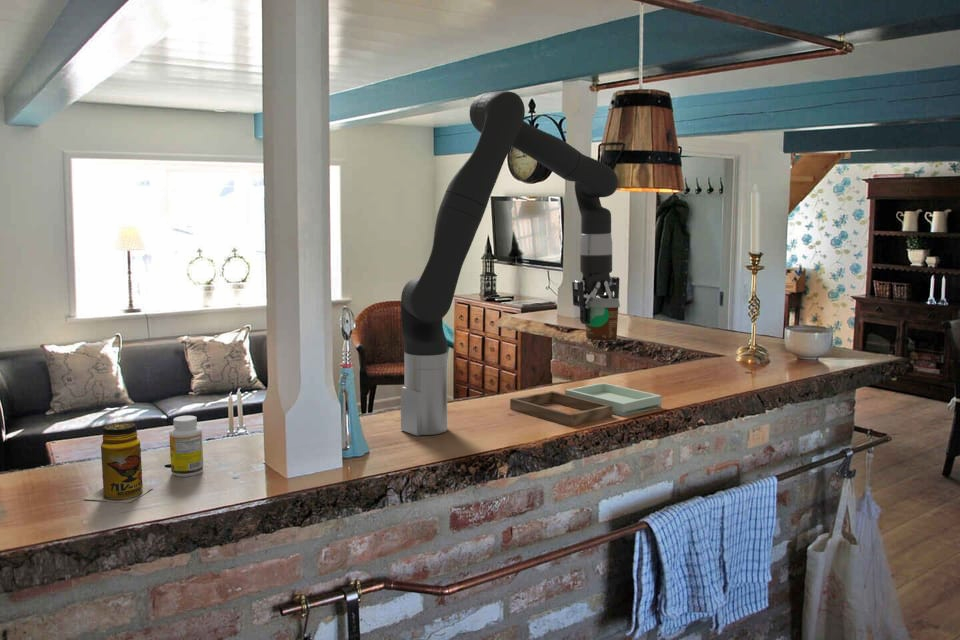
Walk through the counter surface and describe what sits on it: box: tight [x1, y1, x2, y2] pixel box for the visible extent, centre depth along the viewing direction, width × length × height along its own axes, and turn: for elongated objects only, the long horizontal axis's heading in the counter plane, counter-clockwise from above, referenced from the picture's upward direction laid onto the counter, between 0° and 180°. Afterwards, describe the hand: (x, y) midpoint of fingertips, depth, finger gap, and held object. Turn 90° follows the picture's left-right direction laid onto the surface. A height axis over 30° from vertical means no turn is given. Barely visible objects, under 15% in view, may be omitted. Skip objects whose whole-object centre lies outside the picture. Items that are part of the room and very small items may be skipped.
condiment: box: [83, 421, 155, 504], centre depth 139 cm, size 7×8×12 cm
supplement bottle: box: [169, 415, 204, 478], centre depth 150 cm, size 6×6×10 cm
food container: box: [584, 294, 621, 341], centre depth 198 cm, size 12×6×10 cm, turn 20°
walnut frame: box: [509, 390, 613, 427], centre depth 196 cm, size 14×20×2 cm
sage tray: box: [564, 382, 662, 417], centre depth 205 cm, size 14×19×3 cm
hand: (596, 322), depth 199 cm, fingers closed on food container, 7 cm apart
